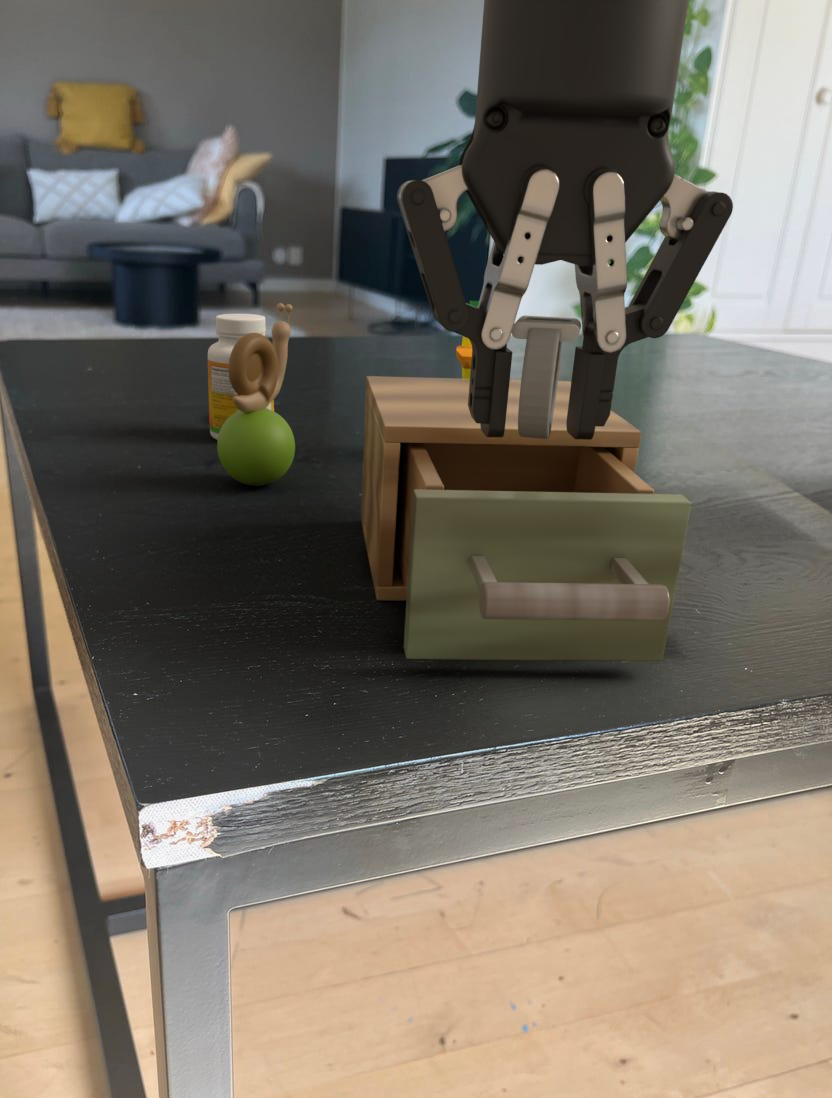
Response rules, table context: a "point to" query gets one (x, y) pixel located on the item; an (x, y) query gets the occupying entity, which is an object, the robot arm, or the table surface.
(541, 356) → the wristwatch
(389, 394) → the cabinet
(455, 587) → the drawer
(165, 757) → the table surface
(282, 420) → the snail figurine
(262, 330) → the supplement bottle
